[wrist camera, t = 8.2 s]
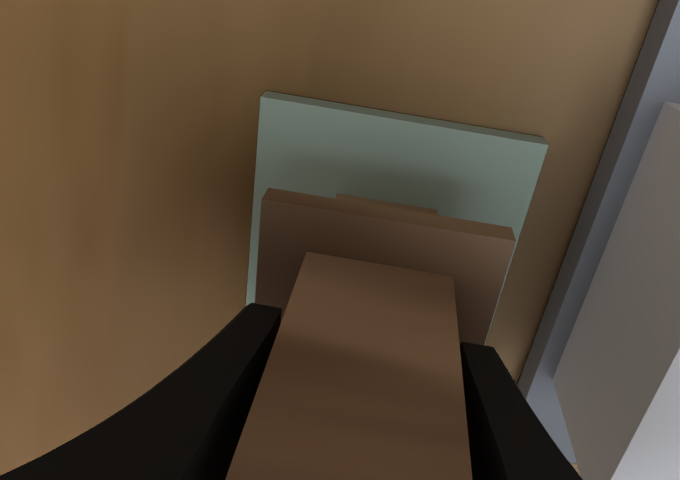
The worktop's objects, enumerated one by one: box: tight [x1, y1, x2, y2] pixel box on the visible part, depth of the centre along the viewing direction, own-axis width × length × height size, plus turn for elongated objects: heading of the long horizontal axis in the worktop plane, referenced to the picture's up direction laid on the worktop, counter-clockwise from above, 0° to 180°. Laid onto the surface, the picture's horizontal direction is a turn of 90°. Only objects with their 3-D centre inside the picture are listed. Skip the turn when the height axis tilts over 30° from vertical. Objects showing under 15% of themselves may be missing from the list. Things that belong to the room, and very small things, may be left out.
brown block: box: [225, 188, 516, 480], centre depth 12 cm, size 5×5×10 cm
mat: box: [246, 91, 548, 346], centre depth 16 cm, size 7×7×1 cm
